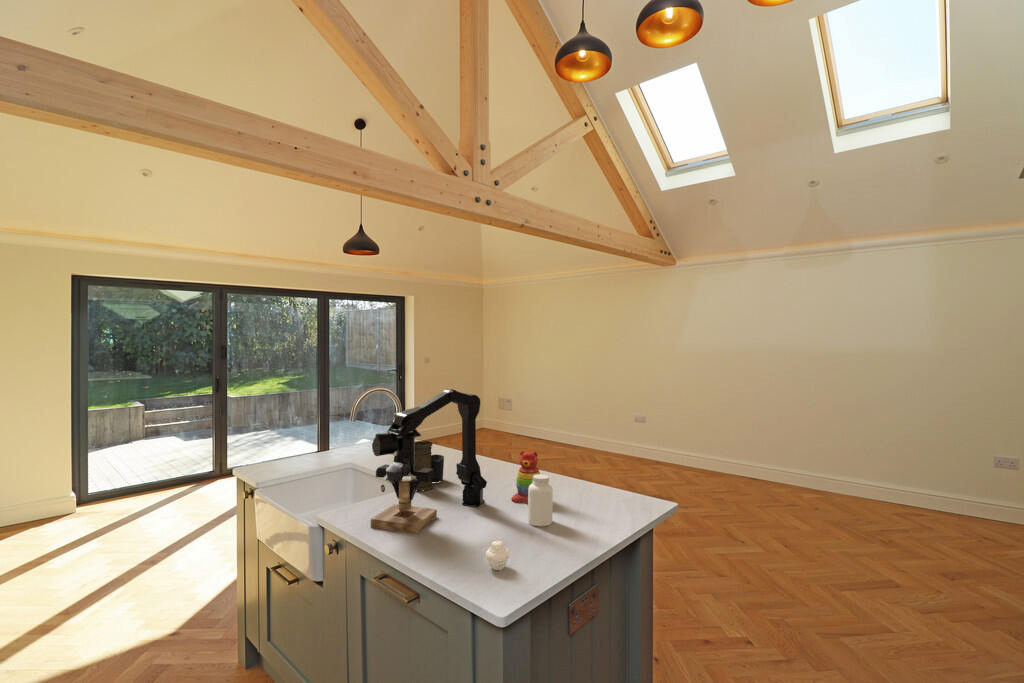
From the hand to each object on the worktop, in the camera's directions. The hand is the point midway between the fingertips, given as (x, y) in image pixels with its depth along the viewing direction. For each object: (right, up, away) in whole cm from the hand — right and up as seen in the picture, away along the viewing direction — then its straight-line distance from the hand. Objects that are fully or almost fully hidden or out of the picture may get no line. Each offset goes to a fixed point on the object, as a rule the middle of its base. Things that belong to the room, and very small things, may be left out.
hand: (405, 499), depth 149 cm
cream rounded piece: (+31, -8, -30) cm, 44 cm away
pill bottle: (+44, -8, +1) cm, 45 cm away
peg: (0, -3, 0) cm, 3 cm away
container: (-2, -8, +35) cm, 35 cm away
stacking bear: (+41, -8, +23) cm, 47 cm away
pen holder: (+1, -8, +44) cm, 45 cm away
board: (0, -7, 0) cm, 7 cm away
